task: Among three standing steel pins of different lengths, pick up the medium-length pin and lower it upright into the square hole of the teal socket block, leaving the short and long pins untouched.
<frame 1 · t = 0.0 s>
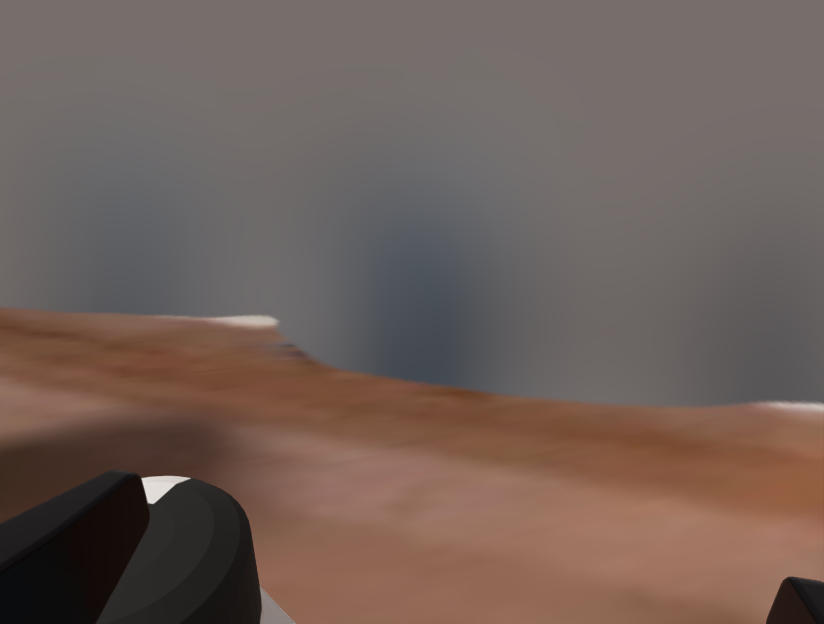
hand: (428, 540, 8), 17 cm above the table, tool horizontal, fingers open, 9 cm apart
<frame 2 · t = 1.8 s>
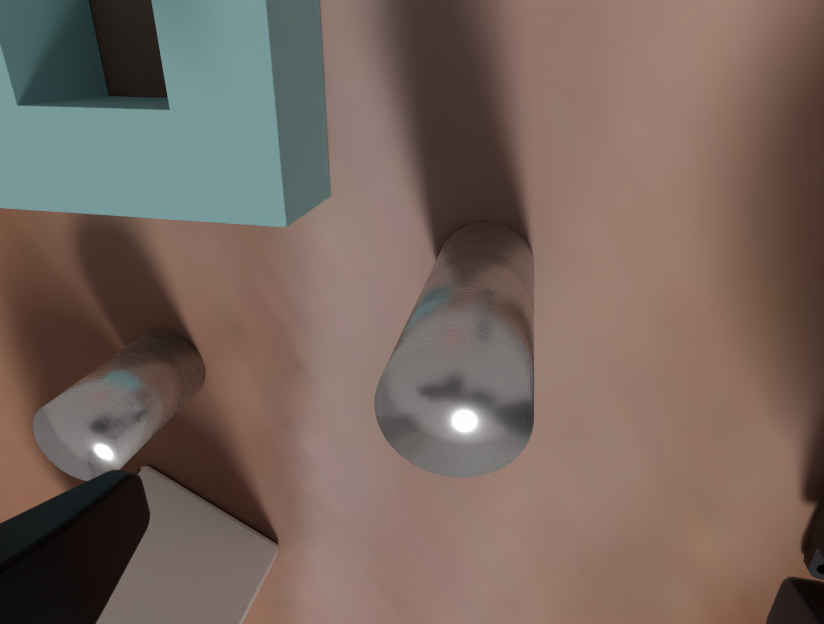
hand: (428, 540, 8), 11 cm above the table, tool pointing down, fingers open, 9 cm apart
socket block: (158, 17, 16), on the table
pin short: (169, 363, 22), on the table
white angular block: (190, 541, 26), on the table
pin medium: (485, 267, 18), on the table
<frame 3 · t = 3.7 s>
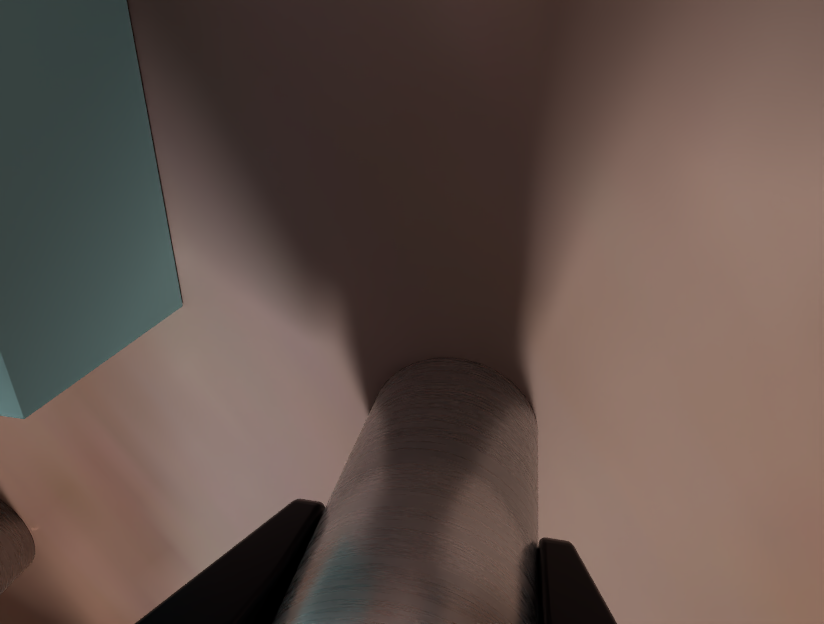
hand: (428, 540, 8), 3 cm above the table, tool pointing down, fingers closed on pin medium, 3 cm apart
pin medium: (452, 430, 10), on the table, touching gripper
when the fingers open (4 cm above the table, at t = 7.7 s): pin medium drops 2 cm, resting in socket block.
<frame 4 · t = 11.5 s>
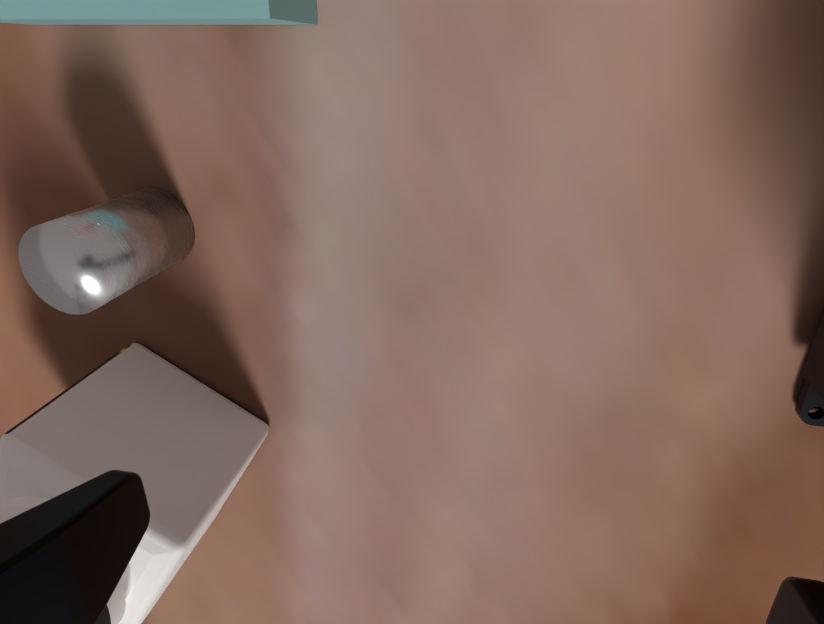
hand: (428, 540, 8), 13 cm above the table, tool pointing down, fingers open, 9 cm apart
pin short: (159, 226, 22), on the table
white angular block: (181, 429, 26), on the table
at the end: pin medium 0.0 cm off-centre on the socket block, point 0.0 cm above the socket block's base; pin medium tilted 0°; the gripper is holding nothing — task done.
